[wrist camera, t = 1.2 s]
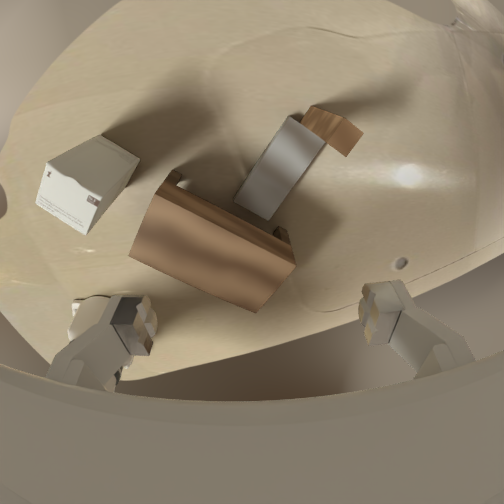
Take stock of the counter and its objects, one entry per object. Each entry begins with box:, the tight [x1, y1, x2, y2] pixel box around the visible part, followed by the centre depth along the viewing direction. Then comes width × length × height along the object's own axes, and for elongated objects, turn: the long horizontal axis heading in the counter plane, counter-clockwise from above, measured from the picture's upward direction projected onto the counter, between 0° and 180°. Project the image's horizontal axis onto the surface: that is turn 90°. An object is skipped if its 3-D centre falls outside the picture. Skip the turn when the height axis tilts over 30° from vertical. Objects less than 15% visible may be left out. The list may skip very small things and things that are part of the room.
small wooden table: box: [129, 170, 296, 313], centre depth 41 cm, size 10×20×10 cm, turn 58°
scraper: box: [233, 106, 364, 221], centre depth 33 cm, size 18×6×14 cm, turn 148°
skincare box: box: [36, 135, 140, 235], centre depth 32 cm, size 8×6×15 cm
